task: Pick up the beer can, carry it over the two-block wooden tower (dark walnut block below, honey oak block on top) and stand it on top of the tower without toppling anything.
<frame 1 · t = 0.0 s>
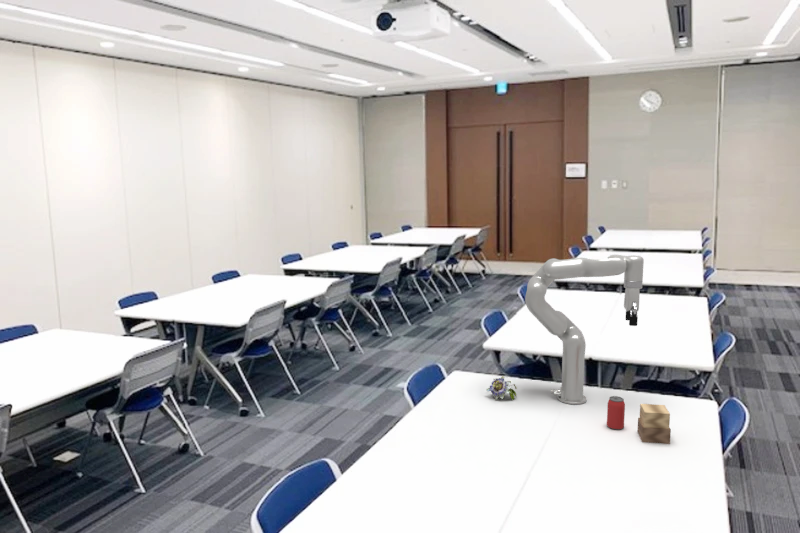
hand: (631, 322, 272), 37 cm above the table, tool pointing down, fingers open, 9 cm apart
passion flower: (502, 398, 286), on the table
beer can: (615, 427, 252), on the table
oak block: (654, 423, 241), point 6 cm above the table, touching walnut block
walnut block: (653, 438, 242), on the table, touching oak block
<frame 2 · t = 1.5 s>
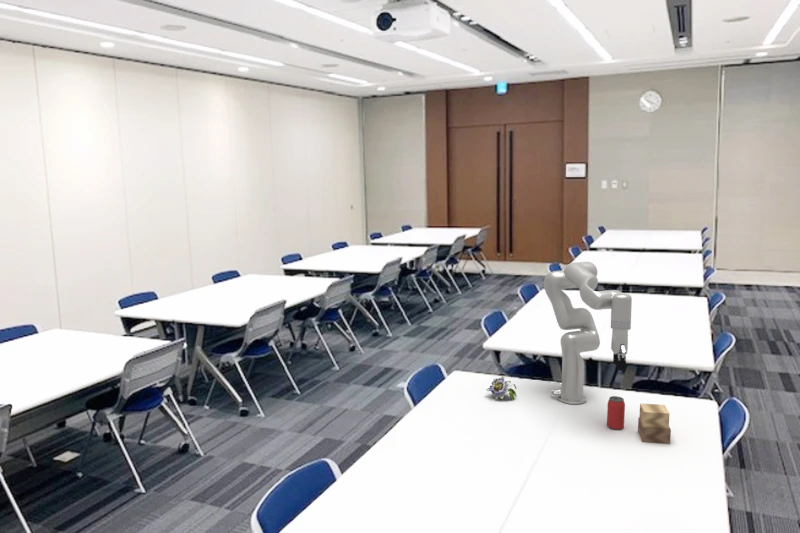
hand: (619, 366, 249), 25 cm above the table, tool pointing down, fingers open, 9 cm apart
nothing on the table moved.
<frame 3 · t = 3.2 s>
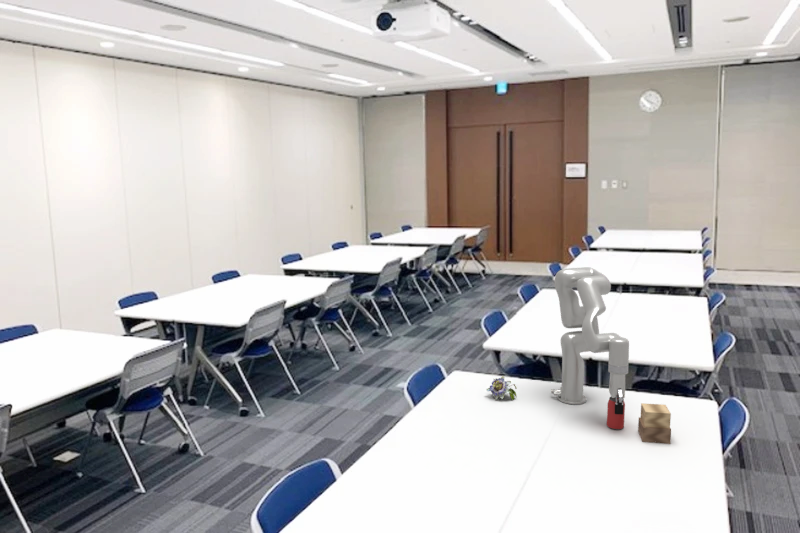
hand: (617, 409, 250), 8 cm above the table, tool pointing down, fingers open, 9 cm apart
nothing on the table moved.
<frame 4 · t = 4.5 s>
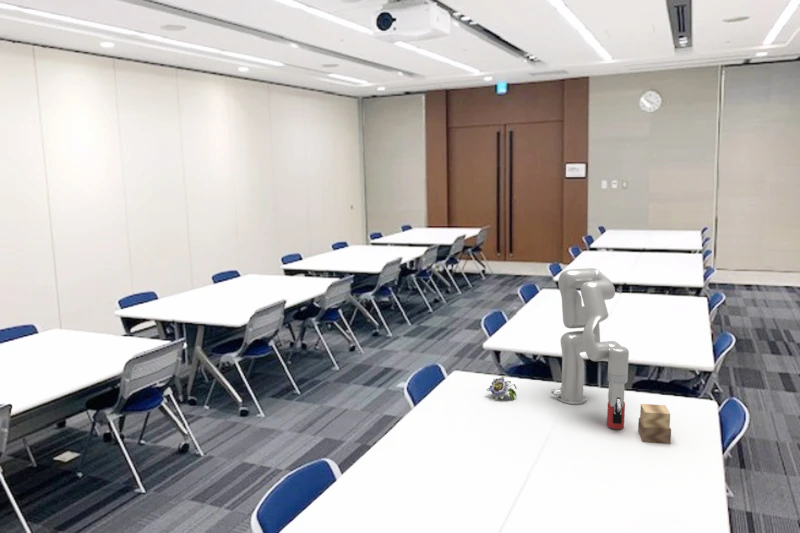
hand: (615, 419, 252), 3 cm above the table, tool pointing down, fingers closed on beer can, 6 cm apart
beer can: (615, 427, 252), on the table, touching gripper
everything else where it was.
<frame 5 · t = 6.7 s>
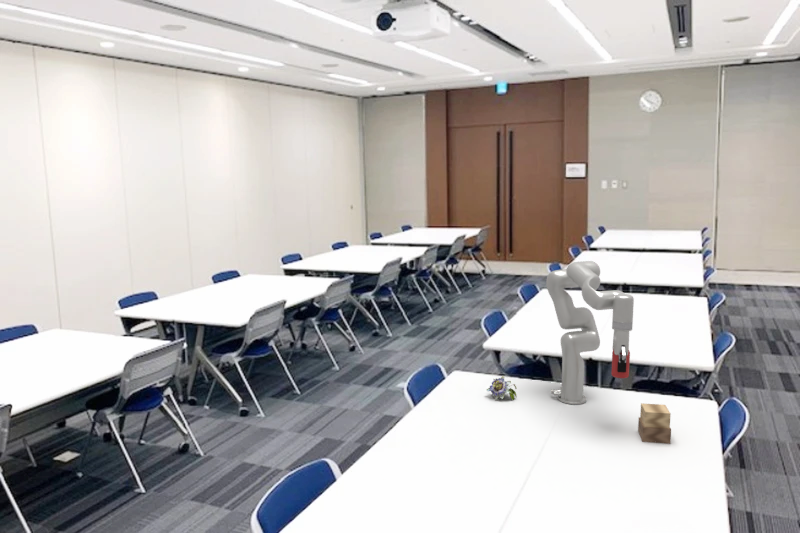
hand: (620, 368, 248), 25 cm above the table, tool pointing down, fingers closed on beer can, 6 cm apart
beer can: (619, 377, 248), point 21 cm above the table, touching gripper
everything else where it was.
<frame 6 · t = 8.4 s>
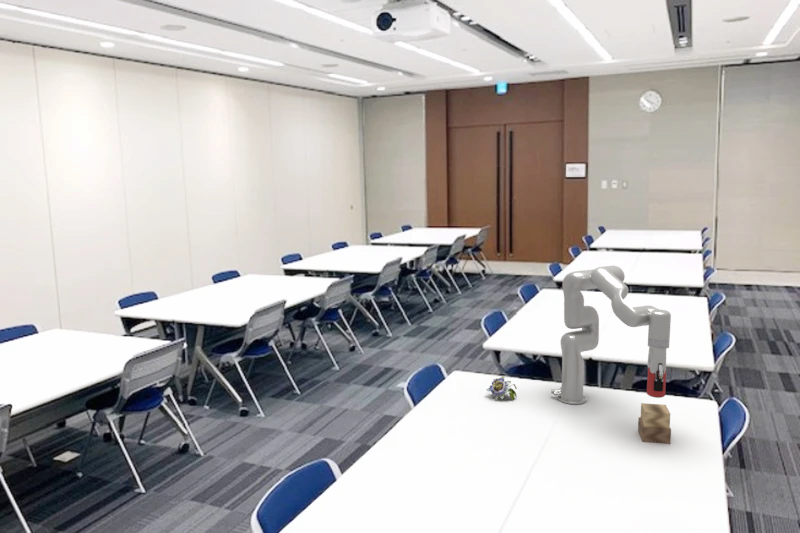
hand: (656, 387, 239), 20 cm above the table, tool pointing down, fingers closed on beer can, 6 cm apart
beer can: (655, 395, 239), point 17 cm above the table, touching gripper
oak block: (654, 423, 241), point 6 cm above the table
walnut block: (653, 437, 242), on the table
everything else where it was.
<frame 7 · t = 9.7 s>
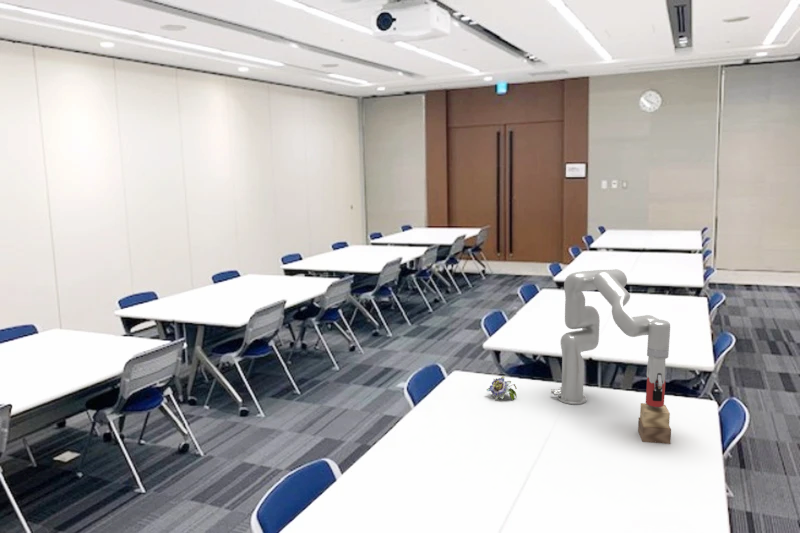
hand: (655, 396, 239), 16 cm above the table, tool pointing down, fingers closed on beer can, 6 cm apart
beer can: (654, 405, 240), point 13 cm above the table, touching gripper
oak block: (654, 422, 241), point 6 cm above the table, touching walnut block
walnut block: (653, 437, 242), on the table, touching oak block
everything else where it was.
when the fingers open (16 cm above the table, at t = 10.0 s): beer can stays where it is, point 13 cm above the table.
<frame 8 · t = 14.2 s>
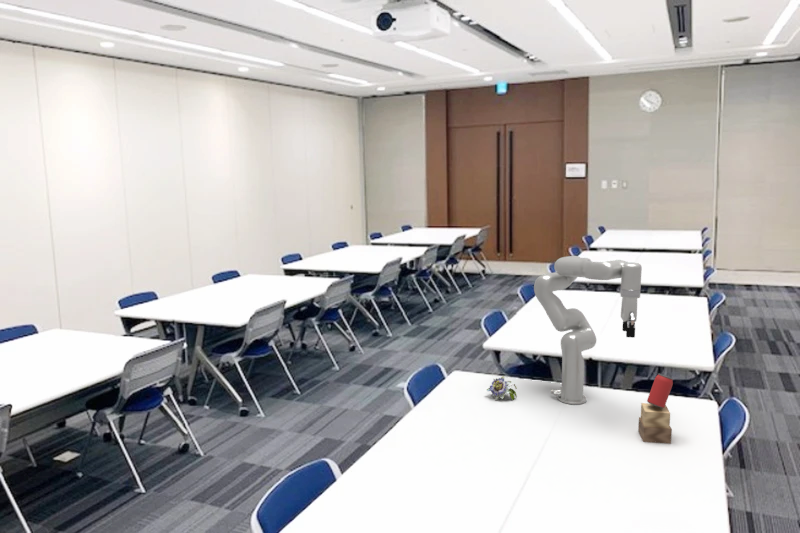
hand: (628, 334, 255), 36 cm above the table, tool pointing down, fingers open, 9 cm apart
beer can: (655, 405, 240), point 13 cm above the table
everything else where it was.
at the end: beer can inside the target area on the oak block (0.4 cm from its centre), point 6.4 cm above the oak block's base; beer can tilted 10°; oak block 0.2 cm off-centre on the walnut block, point 6.0 cm above the walnut block's base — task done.
